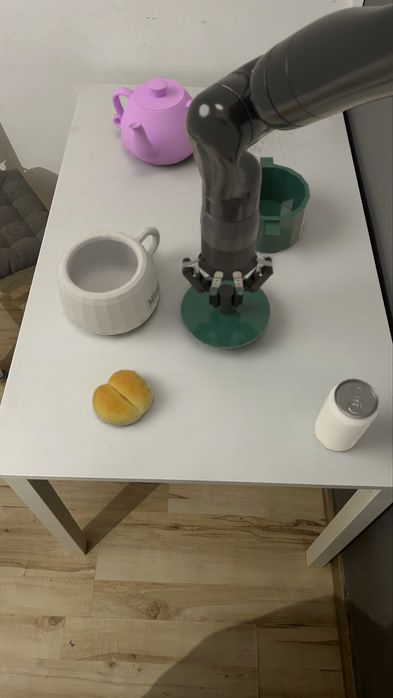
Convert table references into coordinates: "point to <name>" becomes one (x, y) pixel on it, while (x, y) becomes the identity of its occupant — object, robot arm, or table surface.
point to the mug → (109, 281)
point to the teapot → (154, 121)
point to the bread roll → (122, 398)
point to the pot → (280, 207)
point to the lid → (225, 316)
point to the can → (346, 414)
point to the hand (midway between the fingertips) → (225, 303)
